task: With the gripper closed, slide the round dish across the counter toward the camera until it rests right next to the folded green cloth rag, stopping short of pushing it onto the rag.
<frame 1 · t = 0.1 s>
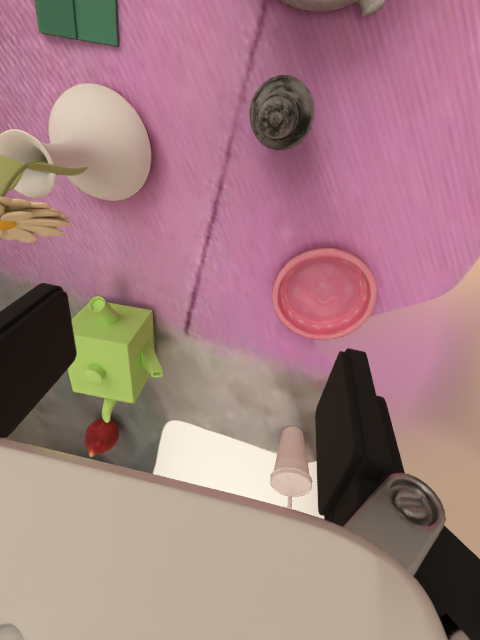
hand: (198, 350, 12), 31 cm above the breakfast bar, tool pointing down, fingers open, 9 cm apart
flower in vase: (116, 146, 38), on the breakfast bar
kettle: (126, 329, 53), on the breakfast bar
saucer: (322, 286, 44), on the breakfast bar
salt shaker: (283, 113, 34), on the breakfast bar
smoothie: (292, 432, 60), on the breakfast bar
onion: (112, 419, 66), on the breakfast bar
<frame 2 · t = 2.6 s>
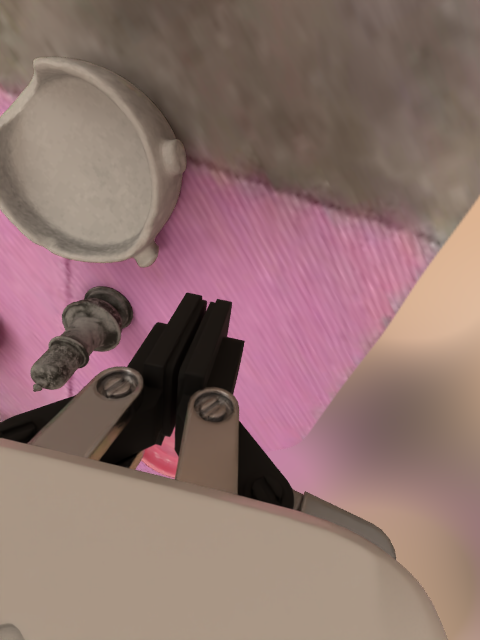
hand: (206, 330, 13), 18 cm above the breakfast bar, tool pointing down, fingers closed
saucer: (184, 431, 46), on the breakfast bar
salt shaker: (109, 307, 36), on the breakfast bar
dish: (108, 168, 28), on the breakfast bar
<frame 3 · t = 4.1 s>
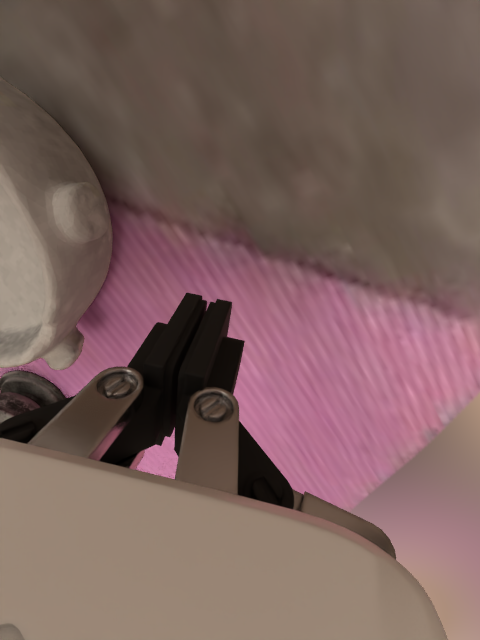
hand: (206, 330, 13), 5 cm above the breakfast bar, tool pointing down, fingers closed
salt shaker: (36, 395, 26), on the breakfast bar
dish: (1, 215, 18), on the breakfast bar
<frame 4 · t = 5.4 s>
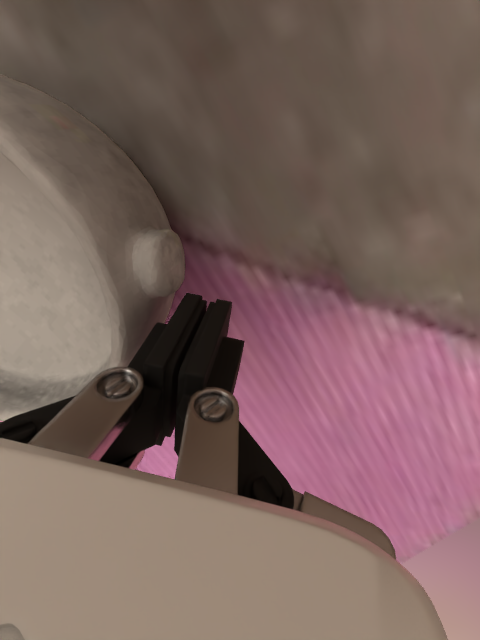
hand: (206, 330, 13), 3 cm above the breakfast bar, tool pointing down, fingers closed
dish: (47, 251, 16), on the breakfast bar, touching gripper
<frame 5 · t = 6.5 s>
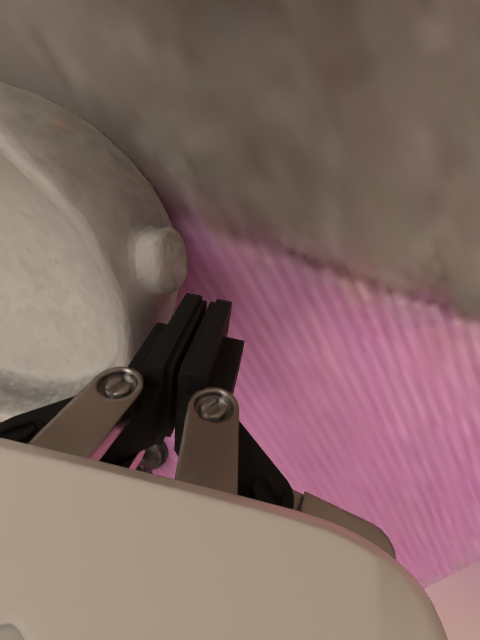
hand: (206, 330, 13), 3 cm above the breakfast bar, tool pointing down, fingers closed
salt shaker: (132, 442, 23), on the breakfast bar
dish: (52, 254, 16), on the breakfast bar, touching gripper
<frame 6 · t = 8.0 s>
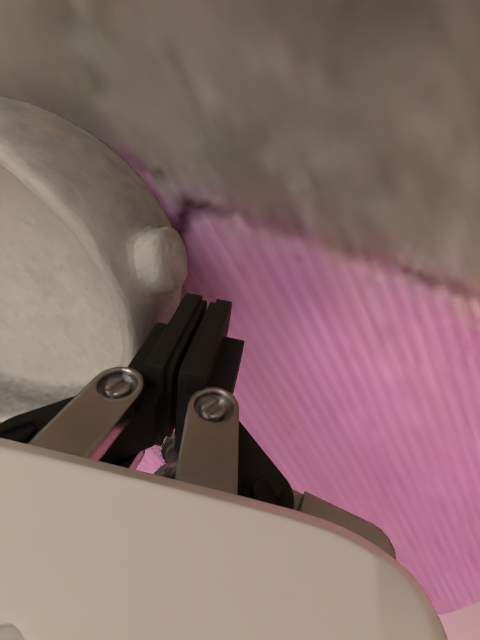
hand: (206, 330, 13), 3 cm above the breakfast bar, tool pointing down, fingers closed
salt shaker: (200, 455, 23), on the breakfast bar
dish: (57, 261, 16), on the breakfast bar, touching gripper
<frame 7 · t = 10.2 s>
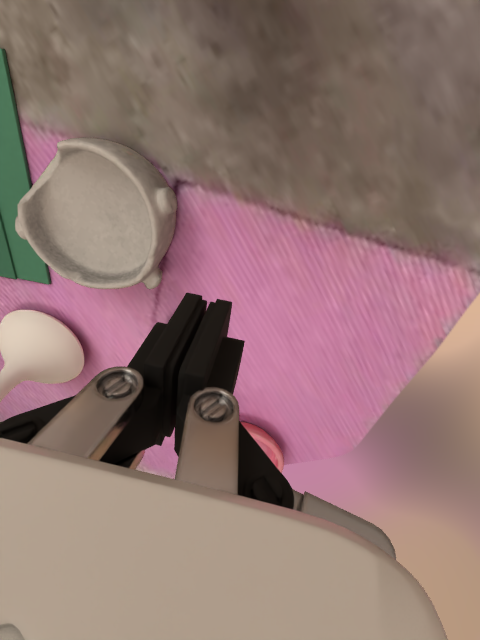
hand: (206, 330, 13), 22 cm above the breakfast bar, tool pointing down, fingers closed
flower in vase: (57, 340, 45), on the breakfast bar
saucer: (242, 441, 50), on the breakfast bar
dish: (117, 212, 34), on the breakfast bar
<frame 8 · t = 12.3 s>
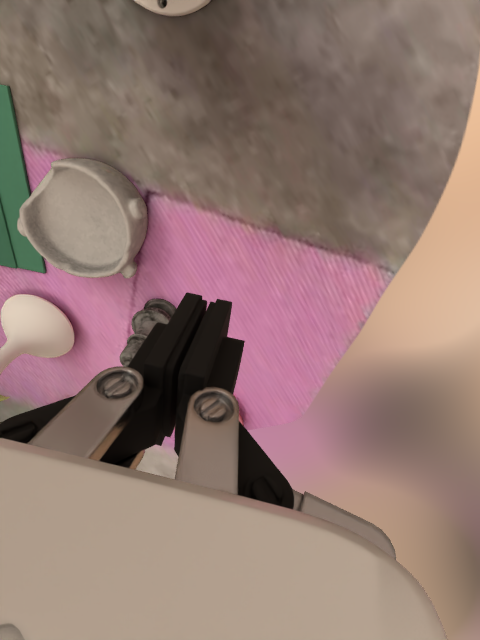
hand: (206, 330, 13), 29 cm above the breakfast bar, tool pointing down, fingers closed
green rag: (0, 186, 42), on the breakfast bar
flower in vase: (51, 321, 53), on the breakfast bar
salt shaker: (161, 313, 49), on the breakfast bar
dish: (100, 215, 42), on the breakfast bar
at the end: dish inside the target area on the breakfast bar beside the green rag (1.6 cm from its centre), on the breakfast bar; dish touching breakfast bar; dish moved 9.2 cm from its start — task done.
